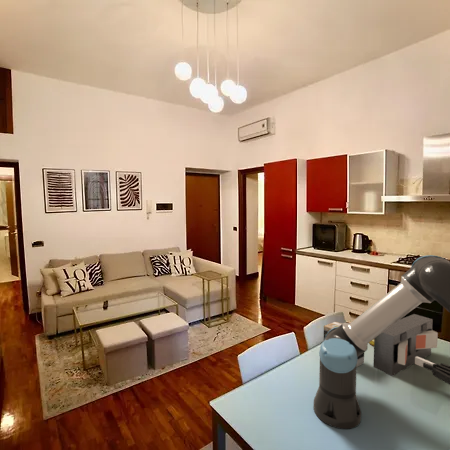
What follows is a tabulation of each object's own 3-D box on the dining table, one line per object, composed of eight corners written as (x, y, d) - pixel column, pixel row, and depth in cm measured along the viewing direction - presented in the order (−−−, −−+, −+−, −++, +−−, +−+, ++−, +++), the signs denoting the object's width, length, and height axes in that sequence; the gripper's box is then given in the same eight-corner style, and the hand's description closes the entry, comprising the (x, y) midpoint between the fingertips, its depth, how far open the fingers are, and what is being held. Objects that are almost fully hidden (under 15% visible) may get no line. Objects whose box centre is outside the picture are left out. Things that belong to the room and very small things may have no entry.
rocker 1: (405, 365, 117) (406, 348, 116) (397, 363, 118) (398, 346, 118) (407, 353, 126) (408, 337, 126) (400, 351, 128) (401, 336, 128)
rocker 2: (414, 349, 129) (415, 334, 129) (409, 346, 132) (410, 332, 132) (437, 347, 131) (438, 332, 131) (432, 344, 134) (432, 330, 134)
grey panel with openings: (392, 376, 118) (394, 336, 117) (373, 367, 125) (374, 329, 124) (431, 354, 136) (433, 319, 135) (412, 347, 143) (414, 313, 142)
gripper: (485, 410, 91) (406, 373, 111) (499, 396, 98) (423, 364, 118) (486, 388, 91) (407, 355, 111) (501, 375, 98) (424, 346, 118)
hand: (415, 359), depth 115 cm, fingers closed
